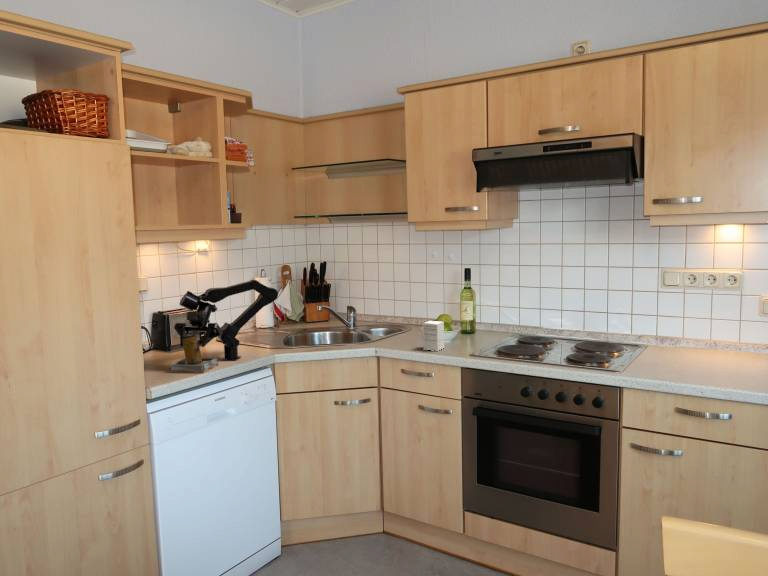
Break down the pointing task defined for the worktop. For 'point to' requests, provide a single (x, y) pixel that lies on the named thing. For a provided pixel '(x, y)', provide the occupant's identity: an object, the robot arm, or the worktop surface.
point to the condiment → (192, 350)
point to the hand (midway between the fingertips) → (191, 346)
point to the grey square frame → (194, 366)
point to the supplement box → (433, 335)
